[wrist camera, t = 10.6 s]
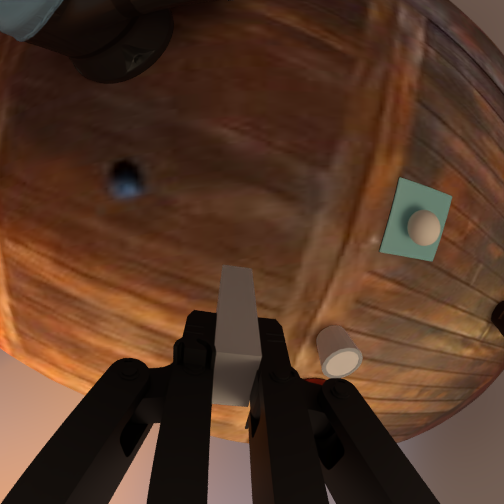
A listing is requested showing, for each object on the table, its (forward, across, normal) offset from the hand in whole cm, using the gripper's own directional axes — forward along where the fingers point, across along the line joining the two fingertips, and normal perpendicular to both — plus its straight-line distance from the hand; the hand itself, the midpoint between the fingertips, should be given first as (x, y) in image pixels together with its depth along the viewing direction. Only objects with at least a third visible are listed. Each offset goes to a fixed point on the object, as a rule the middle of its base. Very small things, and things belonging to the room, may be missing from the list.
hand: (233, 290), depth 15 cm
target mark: (+24, +29, +2) cm, 38 cm away
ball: (+22, +28, +2) cm, 36 cm away
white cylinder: (+25, +20, -21) cm, 38 cm away
